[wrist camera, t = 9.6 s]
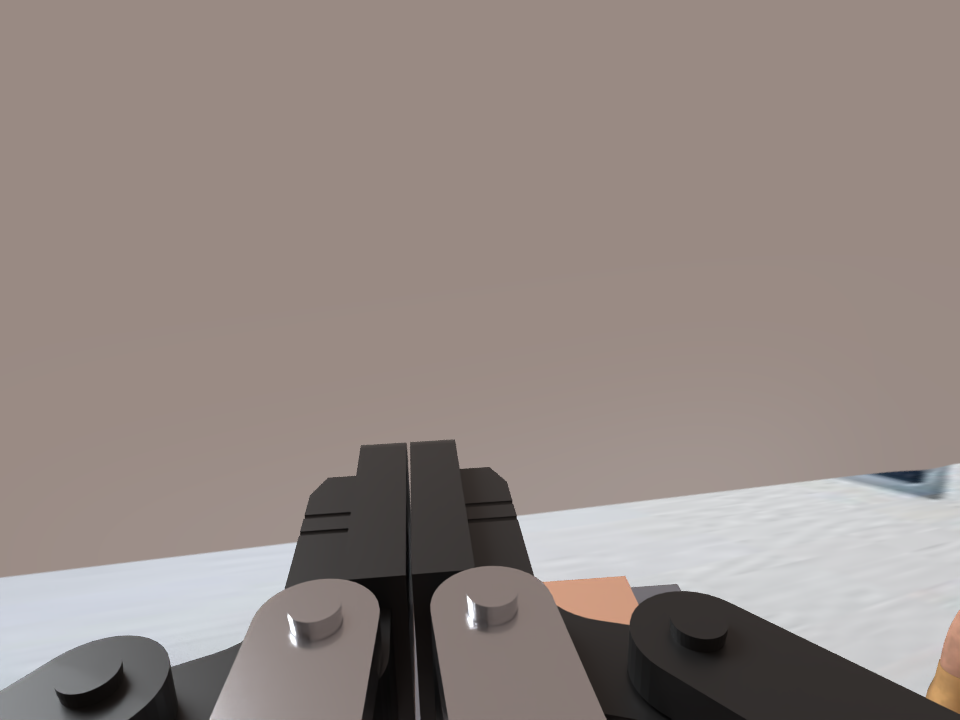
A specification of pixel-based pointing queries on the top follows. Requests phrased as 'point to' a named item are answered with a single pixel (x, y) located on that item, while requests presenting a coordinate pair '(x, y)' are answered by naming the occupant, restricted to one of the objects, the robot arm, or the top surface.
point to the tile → (596, 598)
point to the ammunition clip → (948, 671)
